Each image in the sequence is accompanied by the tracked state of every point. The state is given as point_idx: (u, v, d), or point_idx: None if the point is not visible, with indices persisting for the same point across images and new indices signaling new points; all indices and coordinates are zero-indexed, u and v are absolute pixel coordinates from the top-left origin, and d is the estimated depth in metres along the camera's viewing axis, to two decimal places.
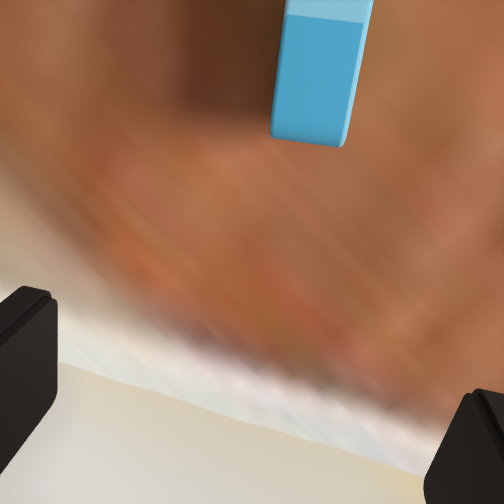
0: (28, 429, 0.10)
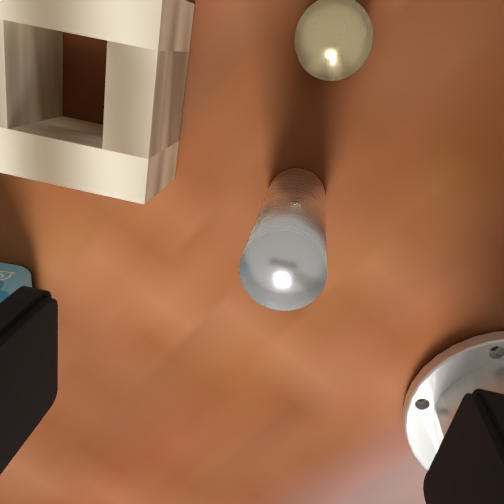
0: (28, 429, 0.10)
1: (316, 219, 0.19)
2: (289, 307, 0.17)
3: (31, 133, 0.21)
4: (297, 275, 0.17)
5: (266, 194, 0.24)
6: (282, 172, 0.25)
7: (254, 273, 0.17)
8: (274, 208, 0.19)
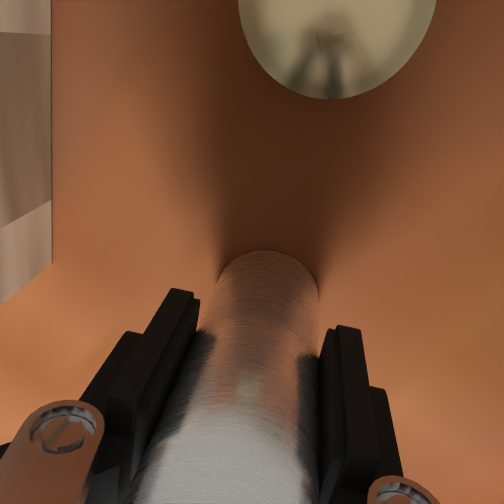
0: None
1: (293, 459, 0.07)
2: None
3: None
4: None
5: (204, 313, 0.12)
6: (239, 259, 0.14)
7: None
8: (187, 427, 0.07)
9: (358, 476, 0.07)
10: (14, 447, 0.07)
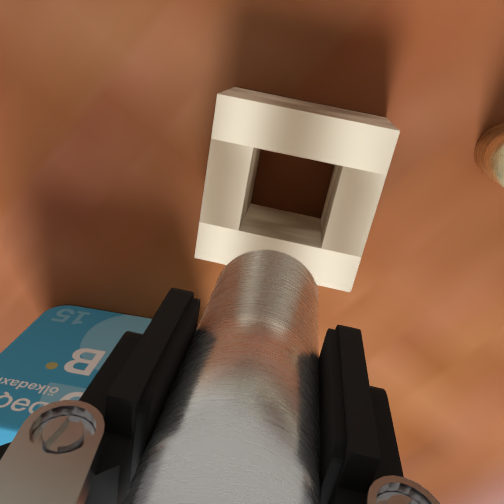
0: None
1: (294, 460, 0.07)
2: None
3: (258, 234, 0.25)
4: None
5: (203, 313, 0.12)
6: (239, 258, 0.14)
7: None
8: (187, 427, 0.07)
9: (358, 476, 0.07)
10: (14, 447, 0.07)
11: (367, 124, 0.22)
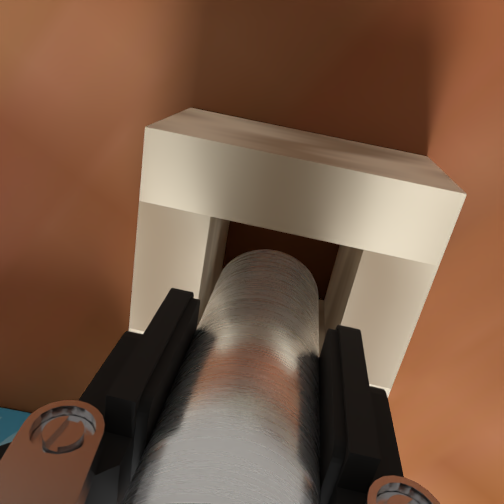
0: None
1: (294, 459, 0.07)
2: None
3: None
4: None
5: None
6: (239, 258, 0.14)
7: None
8: (187, 427, 0.07)
9: (358, 476, 0.07)
10: (14, 447, 0.07)
11: (408, 181, 0.13)
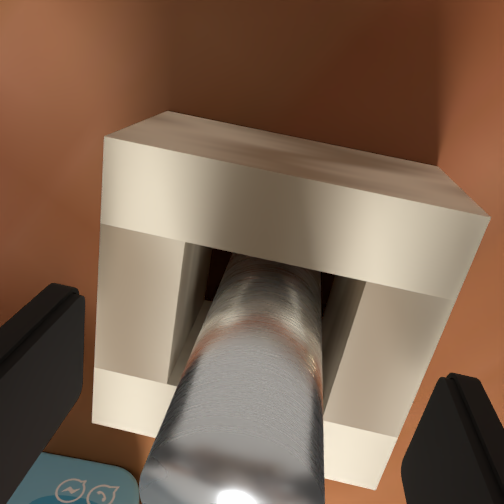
0: (57, 422, 0.10)
1: (304, 355, 0.10)
2: None
3: None
4: None
5: (226, 268, 0.15)
6: None
7: (171, 501, 0.08)
8: (224, 332, 0.10)
9: None
10: None
11: (420, 202, 0.11)
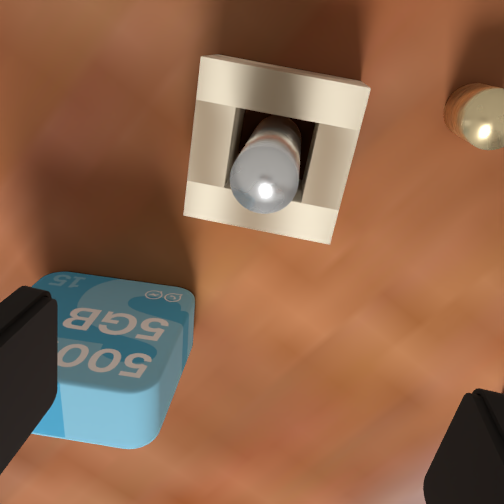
0: (28, 429, 0.10)
1: (290, 144, 0.23)
2: (270, 210, 0.22)
3: None
4: (275, 183, 0.21)
5: None
6: (264, 119, 0.30)
7: (241, 183, 0.22)
8: (257, 137, 0.23)
9: None
10: None
11: (340, 82, 0.24)
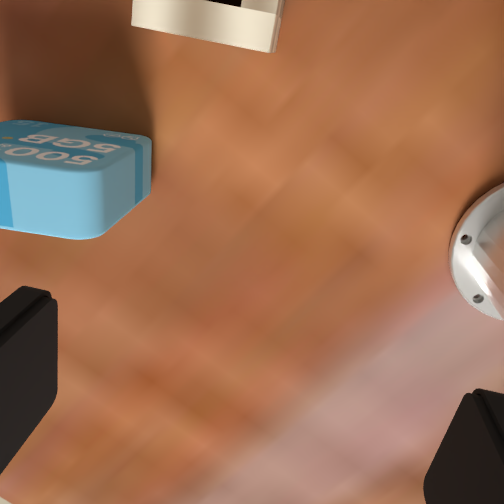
0: (28, 429, 0.10)
1: None
2: None
3: None
4: None
5: None
6: None
7: None
8: None
9: None
10: None
11: None
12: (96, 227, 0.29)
